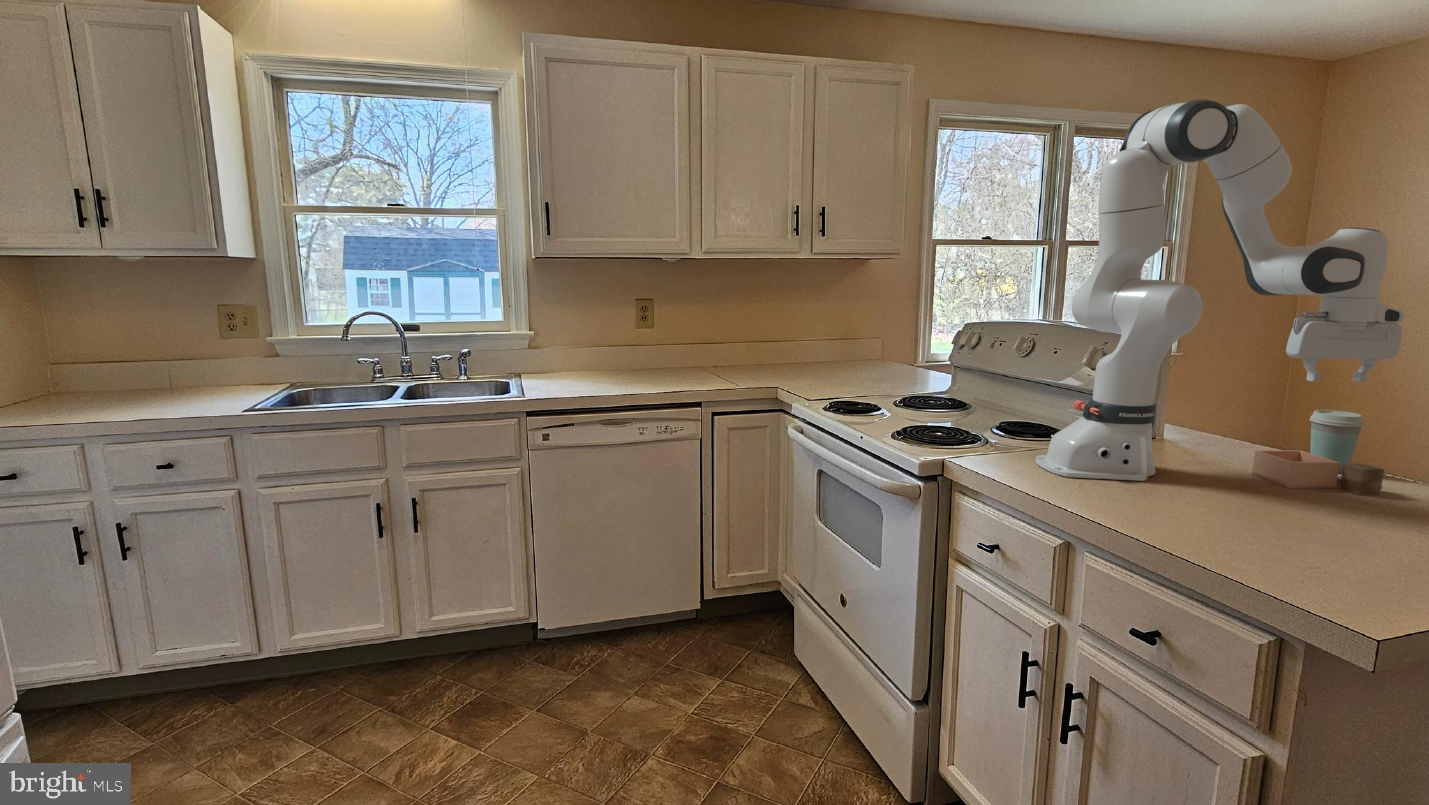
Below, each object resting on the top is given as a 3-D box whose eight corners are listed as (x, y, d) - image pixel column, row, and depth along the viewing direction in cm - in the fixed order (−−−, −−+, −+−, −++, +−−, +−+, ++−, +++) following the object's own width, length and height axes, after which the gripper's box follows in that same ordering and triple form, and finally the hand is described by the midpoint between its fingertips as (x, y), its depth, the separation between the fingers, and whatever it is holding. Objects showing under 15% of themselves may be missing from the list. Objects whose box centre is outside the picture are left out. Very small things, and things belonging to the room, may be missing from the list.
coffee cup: (1335, 464, 153) (1344, 409, 150) (1366, 476, 144) (1377, 417, 142) (1292, 463, 153) (1300, 408, 151) (1321, 474, 145) (1330, 416, 143)
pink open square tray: (1287, 487, 136) (1291, 462, 135) (1251, 474, 145) (1255, 450, 144) (1335, 487, 136) (1339, 462, 135) (1296, 474, 145) (1300, 450, 144)
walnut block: (1358, 495, 132) (1362, 469, 131) (1339, 488, 136) (1343, 463, 135) (1379, 495, 132) (1384, 469, 131) (1360, 488, 136) (1364, 463, 135)
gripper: (1309, 312, 139) (1298, 383, 141) (1413, 313, 139) (1400, 383, 141) (1283, 310, 145) (1273, 378, 147) (1383, 311, 145) (1371, 379, 148)
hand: (1336, 381), depth 144 cm, fingers open, 8 cm apart
